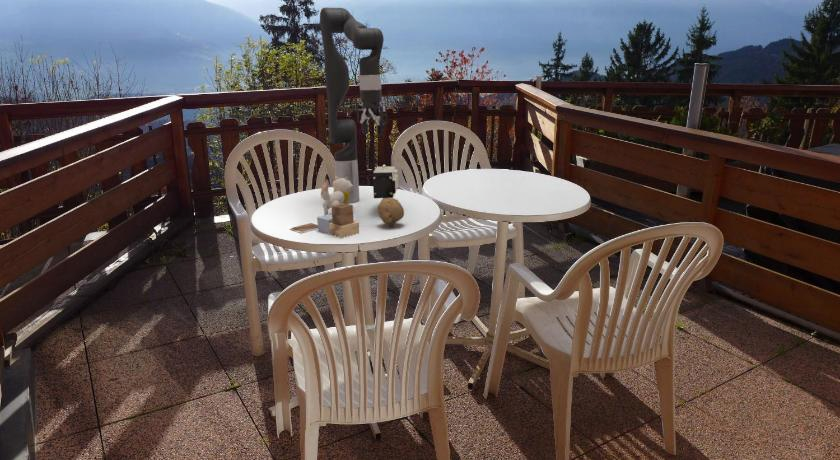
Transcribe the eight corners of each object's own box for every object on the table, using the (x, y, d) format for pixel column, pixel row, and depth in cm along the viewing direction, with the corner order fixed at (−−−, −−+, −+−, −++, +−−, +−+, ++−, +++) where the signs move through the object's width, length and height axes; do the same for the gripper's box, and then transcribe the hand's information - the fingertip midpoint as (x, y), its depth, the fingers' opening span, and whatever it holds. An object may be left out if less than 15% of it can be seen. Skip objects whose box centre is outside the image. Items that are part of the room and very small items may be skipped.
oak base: (329, 235, 193) (328, 223, 191) (345, 230, 198) (344, 219, 196) (343, 238, 188) (342, 227, 187) (359, 233, 193) (358, 222, 192)
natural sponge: (403, 221, 205) (402, 194, 202) (405, 228, 197) (404, 200, 194) (377, 223, 204) (376, 195, 201) (379, 230, 196) (378, 201, 193)
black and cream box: (396, 216, 212) (394, 169, 207) (373, 216, 212) (371, 169, 207) (400, 204, 229) (399, 160, 224) (379, 204, 230) (377, 161, 225)
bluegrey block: (317, 217, 195) (328, 220, 191) (328, 214, 199) (339, 216, 195) (318, 231, 197) (329, 234, 193) (329, 227, 200) (340, 230, 196)
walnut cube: (332, 223, 191) (331, 206, 190) (344, 220, 195) (343, 203, 193) (342, 225, 188) (340, 208, 186) (353, 222, 192) (352, 205, 190)
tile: (289, 229, 199) (289, 227, 199) (311, 223, 205) (311, 222, 205) (301, 233, 194) (300, 231, 194) (323, 227, 200) (323, 225, 200)
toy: (358, 209, 224) (355, 171, 219) (335, 222, 206) (332, 181, 202) (337, 208, 227) (334, 170, 222) (313, 220, 209) (310, 180, 205)
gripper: (349, 88, 203) (352, 134, 207) (375, 89, 193) (377, 137, 197) (366, 87, 208) (368, 132, 212) (392, 88, 198) (393, 135, 202)
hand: (372, 134), depth 205 cm, fingers open, 8 cm apart
